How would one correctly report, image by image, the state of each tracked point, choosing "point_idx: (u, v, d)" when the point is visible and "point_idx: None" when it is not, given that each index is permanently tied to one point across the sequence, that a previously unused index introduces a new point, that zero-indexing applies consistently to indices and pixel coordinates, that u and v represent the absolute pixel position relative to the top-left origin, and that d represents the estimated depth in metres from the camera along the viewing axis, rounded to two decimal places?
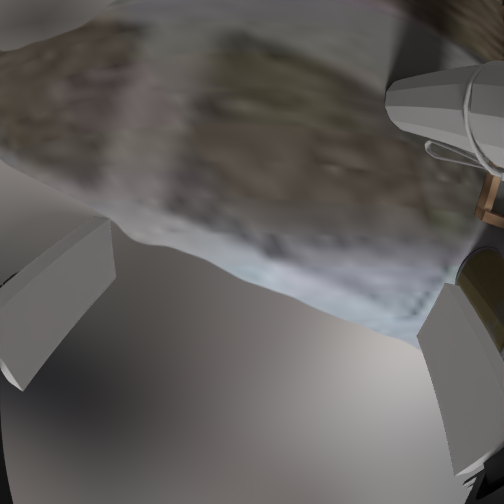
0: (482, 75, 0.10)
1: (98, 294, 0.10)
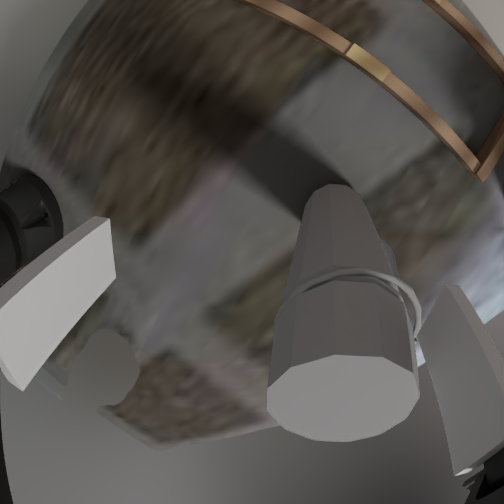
0: None
1: (98, 294, 0.10)
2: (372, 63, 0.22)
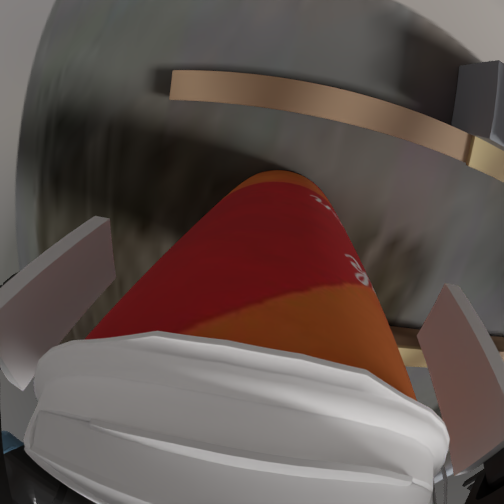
0: None
1: (98, 294, 0.10)
2: (420, 357, 0.17)
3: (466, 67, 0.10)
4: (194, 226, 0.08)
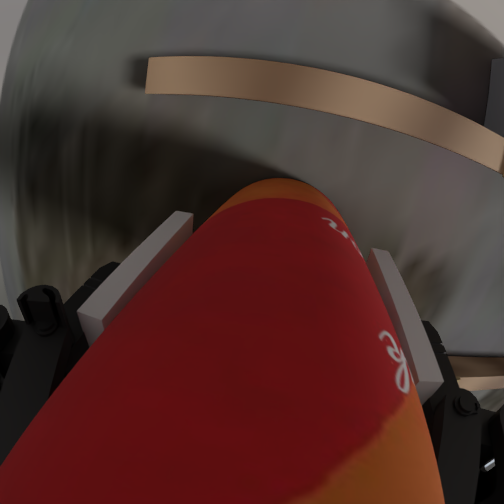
0: None
1: None
2: None
3: (501, 61, 0.07)
4: (157, 274, 0.06)
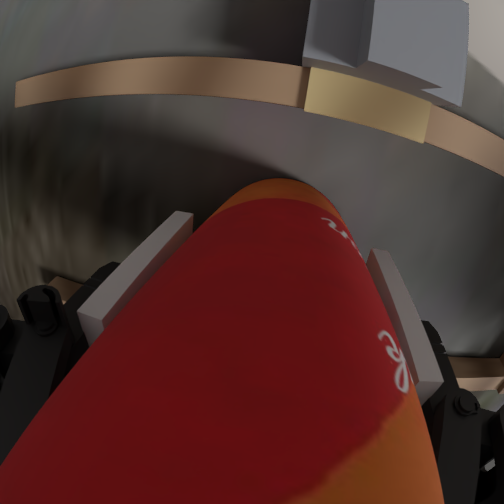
0: None
1: None
2: None
3: None
4: (157, 274, 0.06)
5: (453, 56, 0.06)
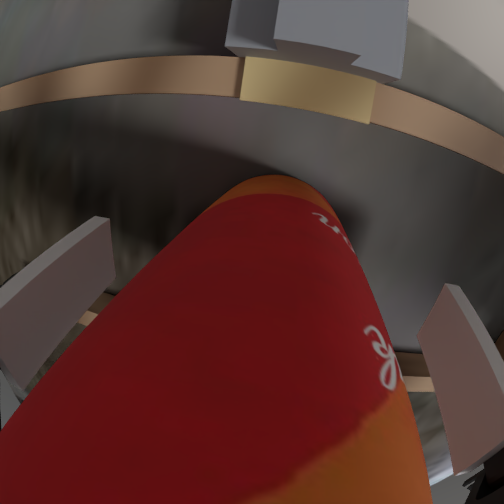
0: None
1: (98, 294, 0.10)
2: None
3: None
4: (144, 268, 0.06)
5: (389, 27, 0.06)
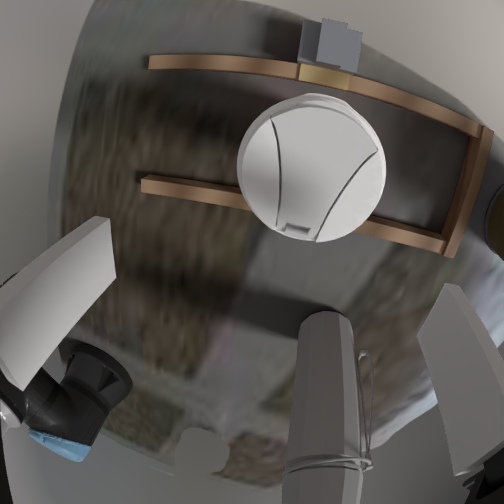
0: None
1: (98, 294, 0.10)
2: None
3: None
4: None
5: (353, 55, 0.19)
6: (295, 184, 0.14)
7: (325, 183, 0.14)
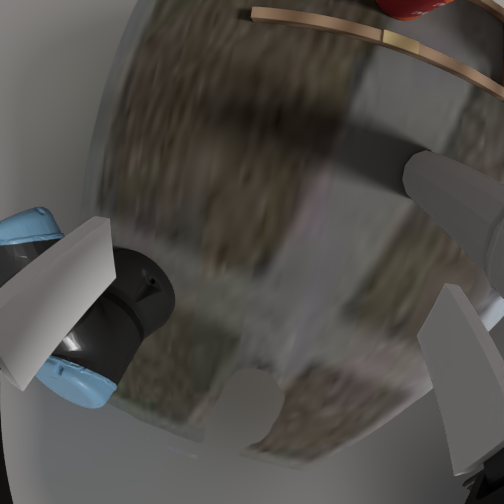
0: (498, 292, 0.15)
1: (98, 294, 0.10)
2: (404, 41, 0.22)
3: None
4: None
5: None
6: None
7: None
